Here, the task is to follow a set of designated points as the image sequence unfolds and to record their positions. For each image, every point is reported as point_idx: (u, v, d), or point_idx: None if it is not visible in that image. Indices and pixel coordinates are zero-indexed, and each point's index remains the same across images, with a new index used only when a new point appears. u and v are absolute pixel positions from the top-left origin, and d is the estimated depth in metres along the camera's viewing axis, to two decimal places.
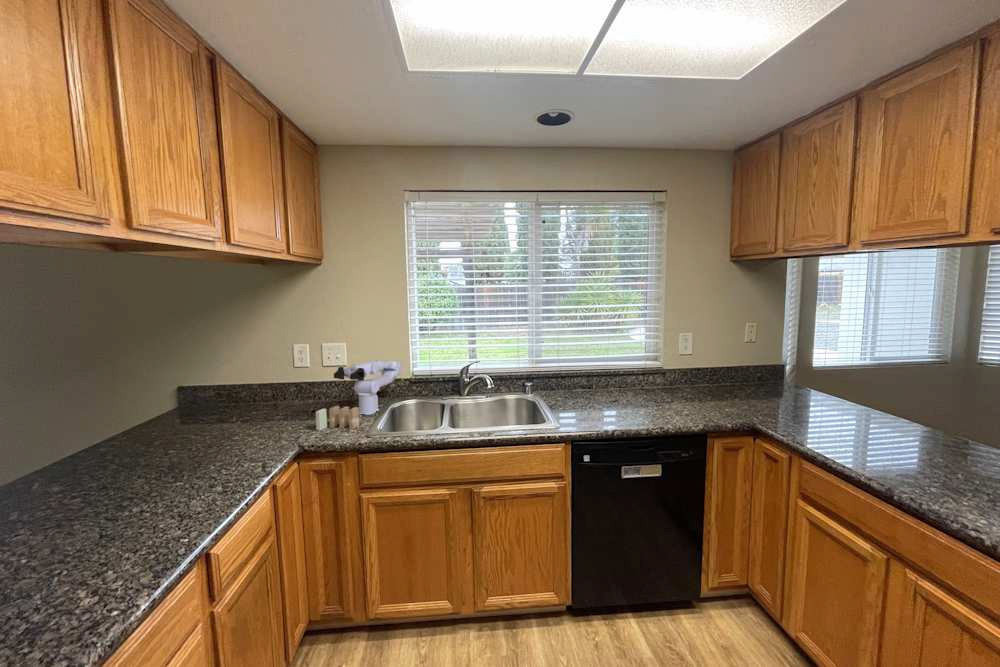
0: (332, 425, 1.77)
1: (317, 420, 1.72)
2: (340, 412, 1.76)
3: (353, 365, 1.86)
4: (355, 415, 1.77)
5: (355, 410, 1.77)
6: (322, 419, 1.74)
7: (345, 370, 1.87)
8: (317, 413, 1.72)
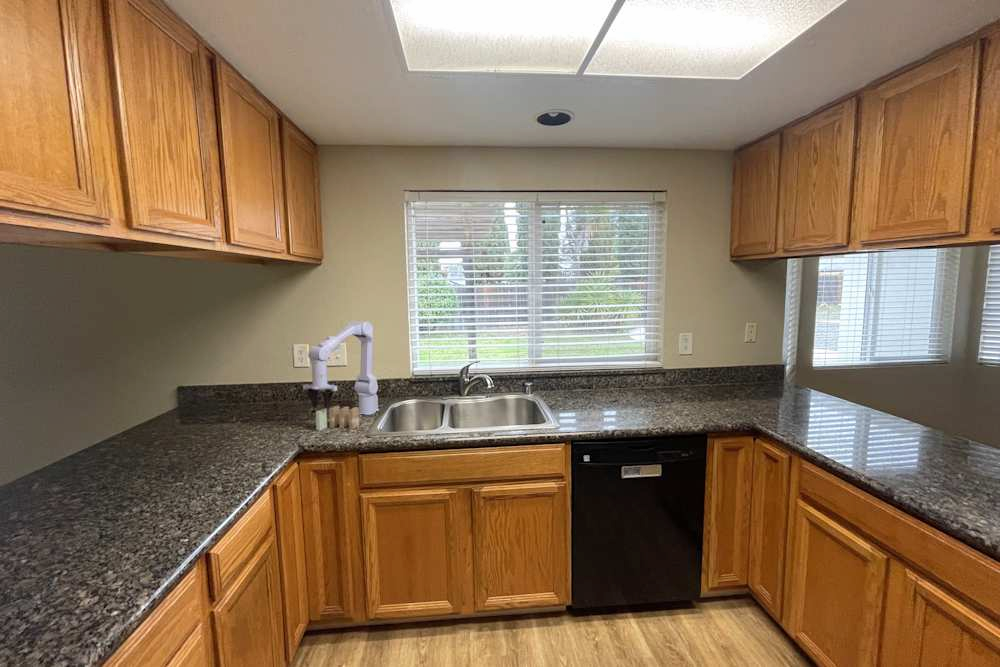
0: (332, 425, 1.77)
1: (317, 420, 1.72)
2: (340, 412, 1.76)
3: (315, 388, 1.70)
4: (355, 415, 1.77)
5: (355, 410, 1.77)
6: (322, 419, 1.74)
7: None
8: (317, 413, 1.72)
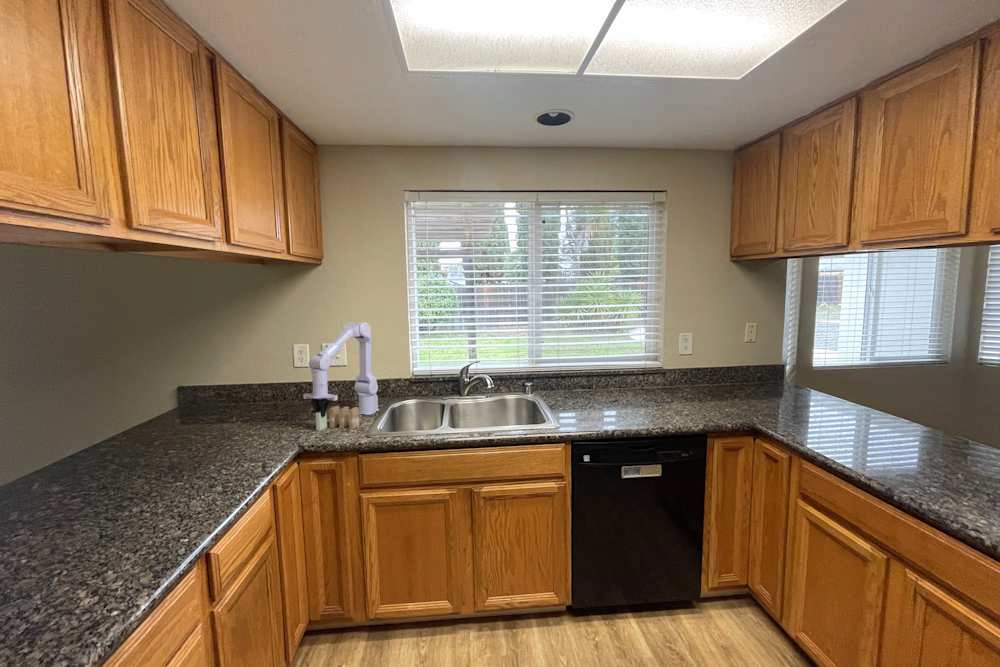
0: (332, 425, 1.77)
1: (317, 421, 1.72)
2: (340, 412, 1.76)
3: None
4: (355, 415, 1.77)
5: (355, 410, 1.77)
6: (322, 420, 1.74)
7: (310, 396, 1.74)
8: (317, 414, 1.72)
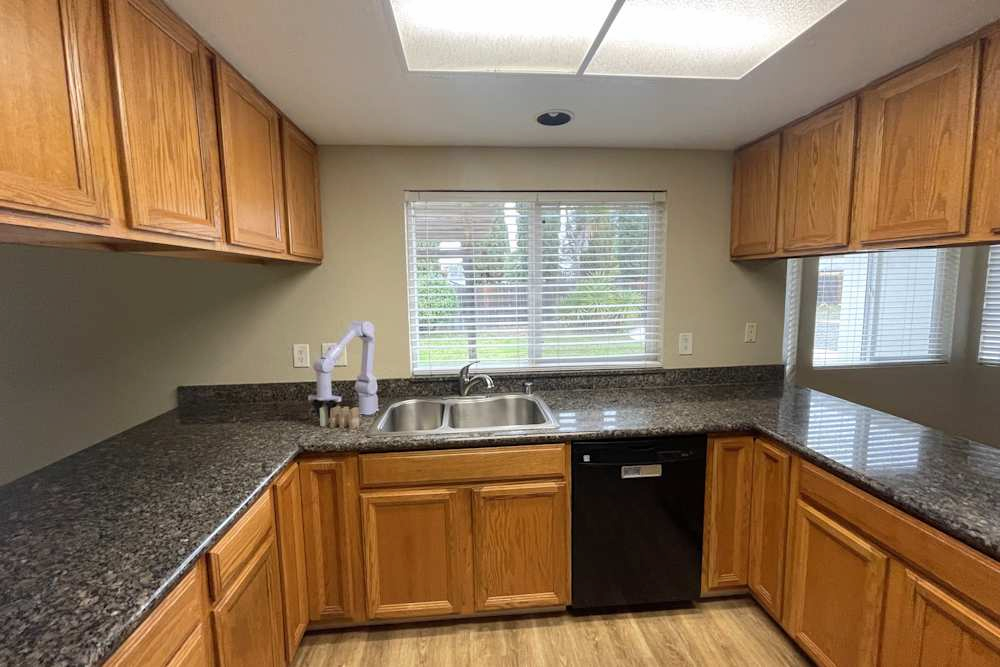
0: (332, 425, 1.77)
1: (321, 416, 1.78)
2: (340, 412, 1.76)
3: (319, 399, 1.76)
4: (355, 415, 1.77)
5: (355, 410, 1.77)
6: (326, 415, 1.79)
7: None
8: (321, 409, 1.77)
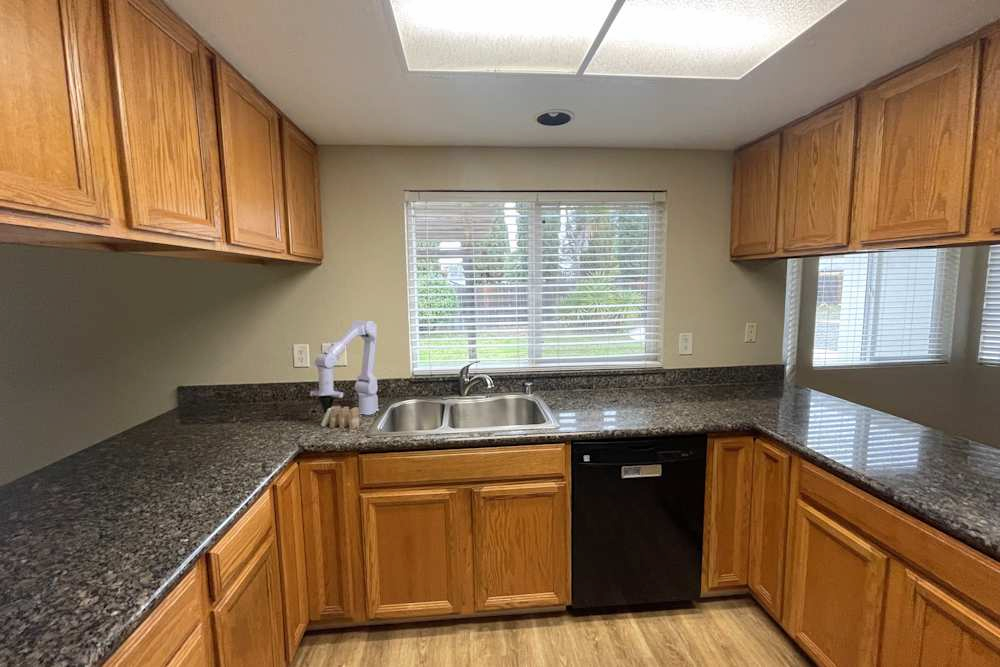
0: (332, 425, 1.77)
1: (325, 417, 1.77)
2: (340, 412, 1.76)
3: None
4: (355, 415, 1.77)
5: (355, 410, 1.77)
6: (330, 417, 1.79)
7: (317, 393, 1.79)
8: (328, 411, 1.77)
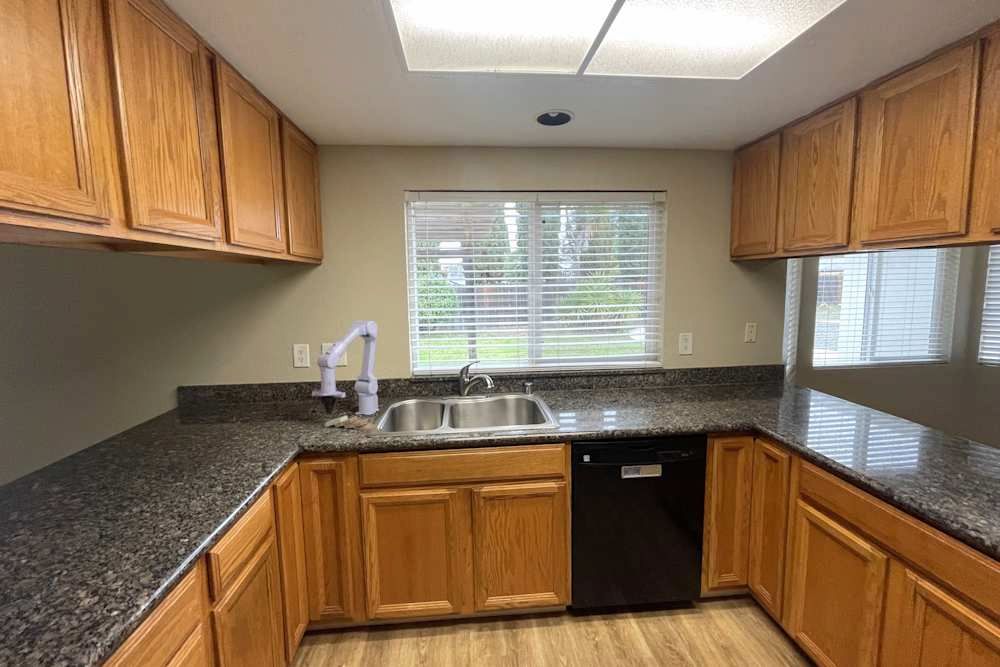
0: (336, 426, 1.76)
1: (333, 422, 1.76)
2: (358, 424, 1.74)
3: (324, 395, 1.75)
4: None
5: None
6: None
7: (319, 393, 1.78)
8: (339, 420, 1.76)
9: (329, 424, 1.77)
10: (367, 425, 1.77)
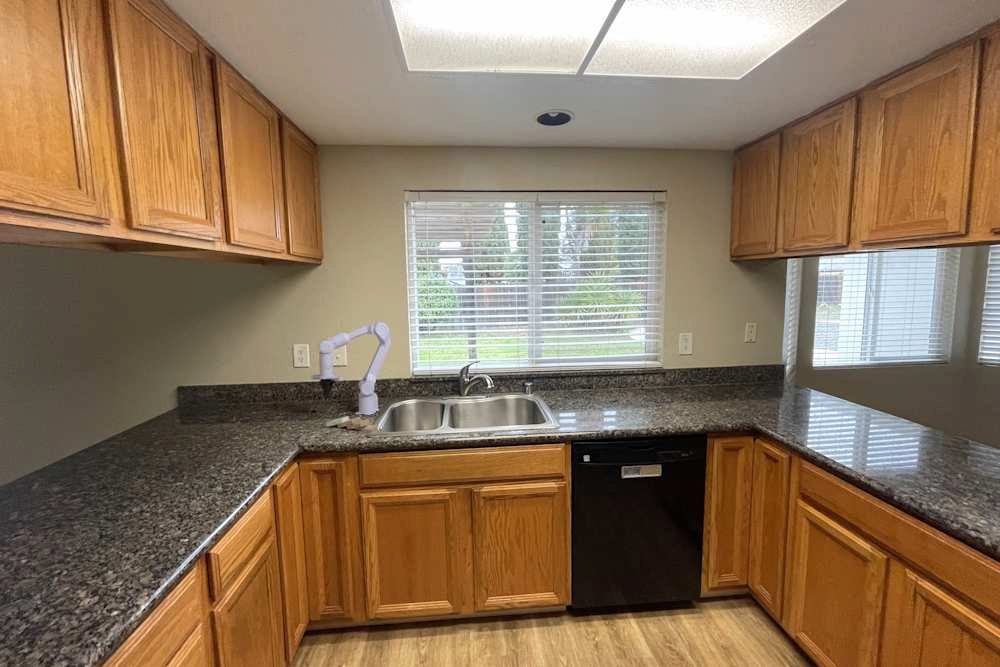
0: (339, 426, 1.76)
1: (334, 422, 1.76)
2: (358, 425, 1.72)
3: (322, 378, 1.87)
4: None
5: None
6: None
7: (317, 377, 1.90)
8: (340, 421, 1.76)
9: (330, 424, 1.77)
10: (368, 426, 1.76)
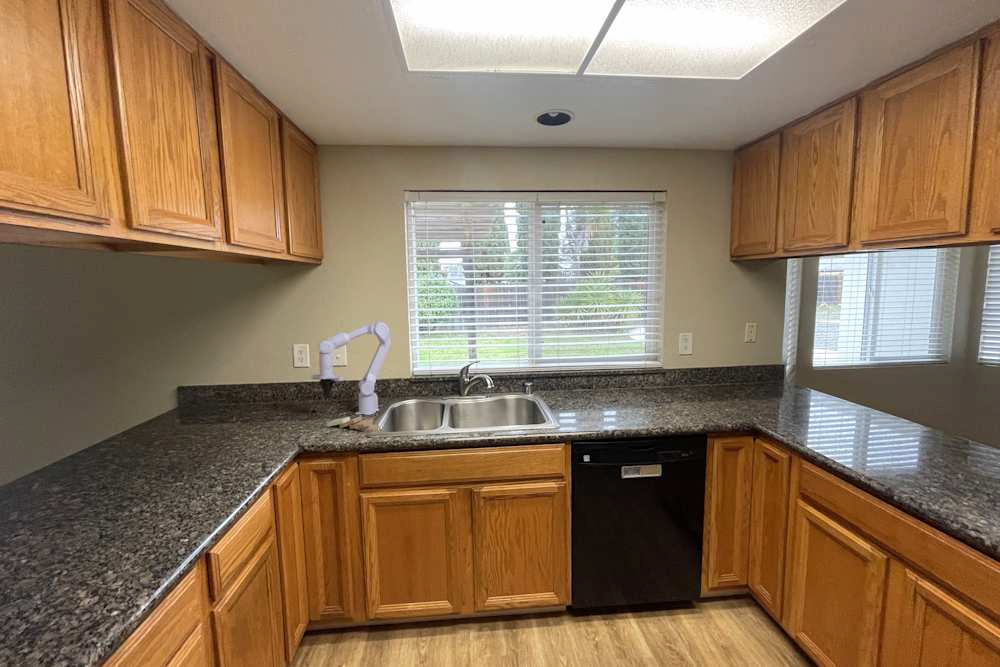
0: (341, 426, 1.76)
1: (335, 422, 1.76)
2: (361, 425, 1.71)
3: (322, 378, 1.87)
4: None
5: None
6: None
7: (317, 377, 1.90)
8: (341, 421, 1.75)
9: (331, 424, 1.77)
10: (369, 426, 1.76)
